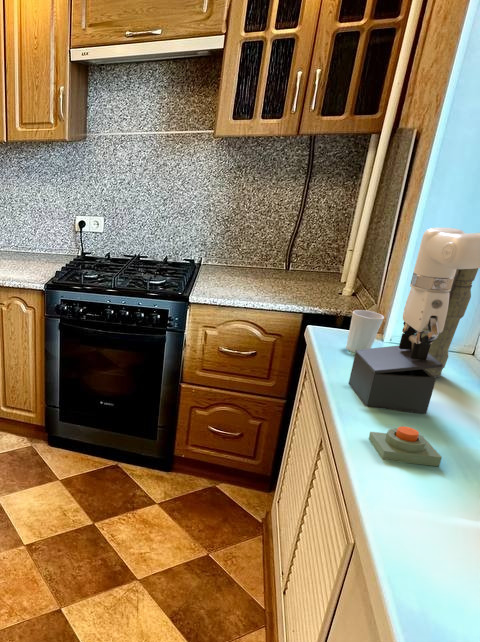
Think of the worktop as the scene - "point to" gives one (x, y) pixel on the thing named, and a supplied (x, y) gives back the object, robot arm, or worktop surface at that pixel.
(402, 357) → the box lid
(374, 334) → the cup
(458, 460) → the worktop surface
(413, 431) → the button
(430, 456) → the block
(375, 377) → the dark grey lidded box
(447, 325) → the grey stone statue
